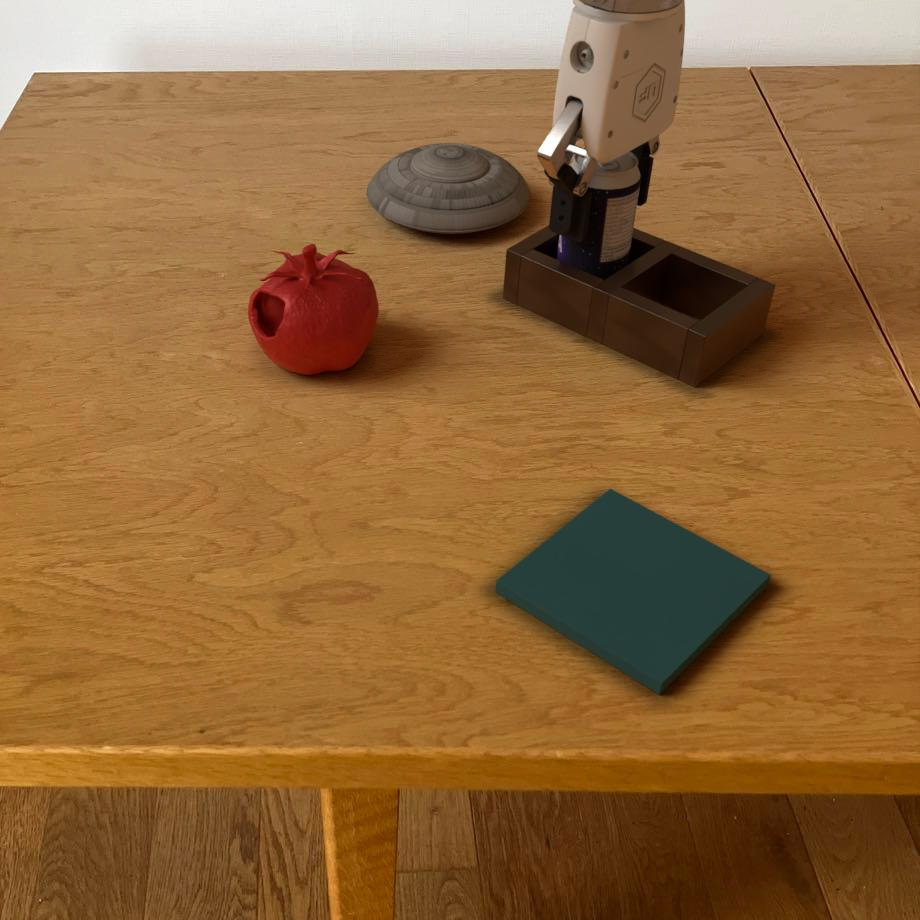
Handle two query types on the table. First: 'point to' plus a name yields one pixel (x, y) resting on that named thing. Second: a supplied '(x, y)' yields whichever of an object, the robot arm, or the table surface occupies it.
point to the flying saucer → (448, 189)
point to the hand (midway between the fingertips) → (598, 216)
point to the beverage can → (606, 218)
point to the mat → (633, 588)
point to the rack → (645, 302)
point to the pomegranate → (314, 313)
